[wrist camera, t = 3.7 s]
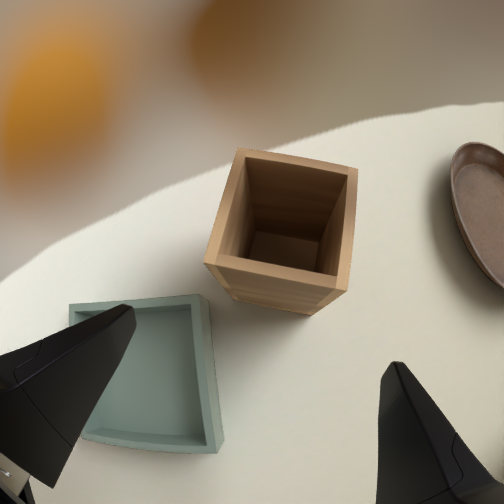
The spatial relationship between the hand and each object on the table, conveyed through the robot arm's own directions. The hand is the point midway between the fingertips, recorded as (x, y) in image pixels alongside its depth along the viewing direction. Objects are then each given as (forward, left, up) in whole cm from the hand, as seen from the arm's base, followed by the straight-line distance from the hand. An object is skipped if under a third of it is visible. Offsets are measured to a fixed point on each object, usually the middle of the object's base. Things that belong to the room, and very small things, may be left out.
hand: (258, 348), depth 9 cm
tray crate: (-9, +2, -12) cm, 15 cm away
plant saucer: (+28, -2, -12) cm, 30 cm away
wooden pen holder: (+4, +5, -12) cm, 13 cm away
